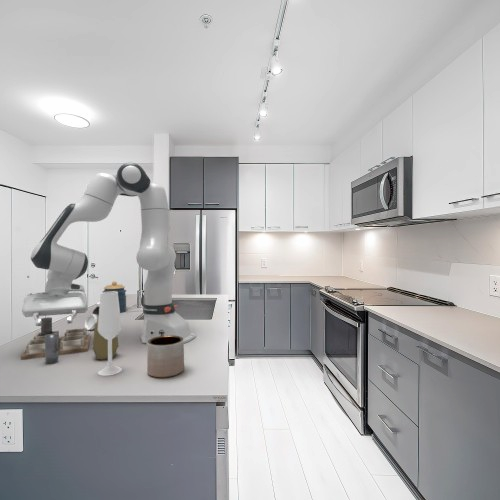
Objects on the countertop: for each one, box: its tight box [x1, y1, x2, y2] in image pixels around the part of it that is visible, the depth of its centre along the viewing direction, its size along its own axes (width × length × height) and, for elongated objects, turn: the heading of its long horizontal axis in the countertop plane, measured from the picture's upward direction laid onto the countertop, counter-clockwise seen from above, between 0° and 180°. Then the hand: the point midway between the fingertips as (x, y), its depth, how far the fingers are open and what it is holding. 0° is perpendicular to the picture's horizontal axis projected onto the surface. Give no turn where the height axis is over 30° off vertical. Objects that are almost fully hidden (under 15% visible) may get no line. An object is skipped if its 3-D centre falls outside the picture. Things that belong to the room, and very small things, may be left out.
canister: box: [102, 281, 128, 314], centre depth 185 cm, size 13×13×18 cm
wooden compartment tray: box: [20, 316, 92, 360], centre depth 120 cm, size 20×20×10 cm
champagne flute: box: [97, 291, 123, 377], centre depth 97 cm, size 7×7×24 cm
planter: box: [146, 335, 185, 379], centre depth 96 cm, size 11×11×10 cm
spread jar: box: [84, 301, 100, 331], centre depth 148 cm, size 12×11×12 cm
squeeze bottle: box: [92, 316, 119, 360], centre depth 109 cm, size 8×8×18 cm
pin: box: [44, 333, 59, 365], centre depth 104 cm, size 4×4×9 cm
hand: (54, 323), depth 111 cm, fingers open, 8 cm apart
